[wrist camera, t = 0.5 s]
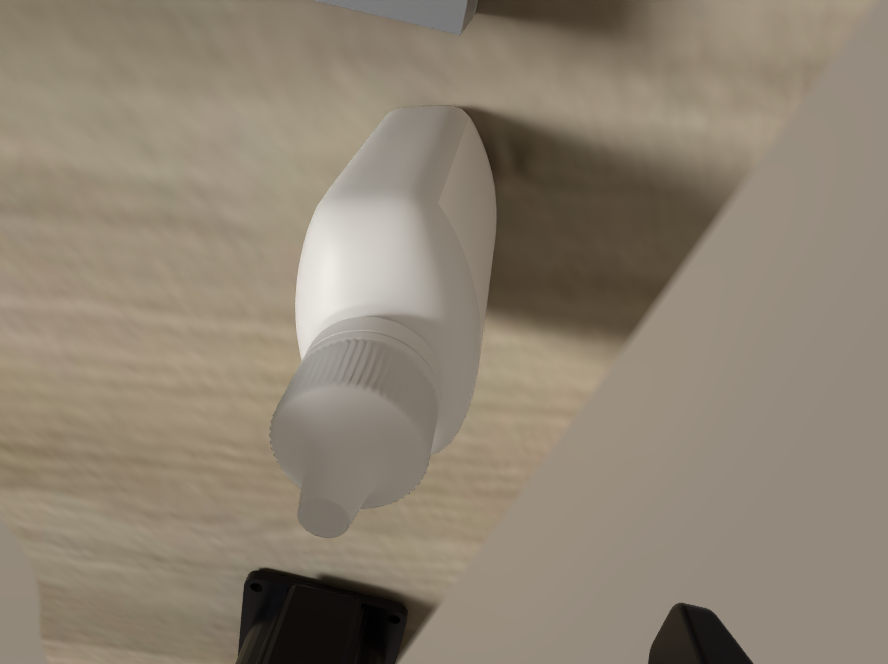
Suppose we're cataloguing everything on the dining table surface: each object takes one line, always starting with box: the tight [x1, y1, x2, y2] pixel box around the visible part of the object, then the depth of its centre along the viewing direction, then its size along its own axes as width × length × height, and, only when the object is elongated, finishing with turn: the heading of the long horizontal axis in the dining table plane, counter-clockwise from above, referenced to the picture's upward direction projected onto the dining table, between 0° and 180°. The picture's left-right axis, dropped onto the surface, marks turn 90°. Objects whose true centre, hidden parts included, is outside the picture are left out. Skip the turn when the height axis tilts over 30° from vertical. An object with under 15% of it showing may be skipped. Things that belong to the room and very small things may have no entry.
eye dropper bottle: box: [269, 106, 497, 538], centre depth 14 cm, size 4×6×12 cm
